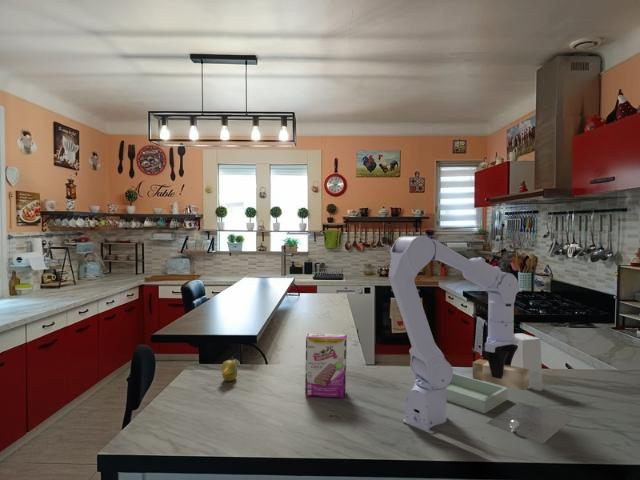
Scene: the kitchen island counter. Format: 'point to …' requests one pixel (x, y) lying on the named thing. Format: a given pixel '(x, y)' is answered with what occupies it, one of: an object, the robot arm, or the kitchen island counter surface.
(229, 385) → the kitchen island counter surface
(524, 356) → the skincare box
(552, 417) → the mount
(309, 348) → the candy bar box
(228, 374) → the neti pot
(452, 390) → the bin
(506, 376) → the tan long block
